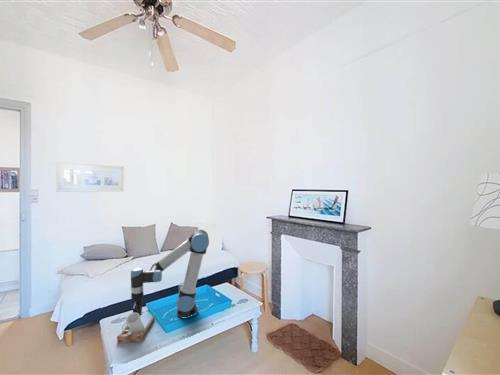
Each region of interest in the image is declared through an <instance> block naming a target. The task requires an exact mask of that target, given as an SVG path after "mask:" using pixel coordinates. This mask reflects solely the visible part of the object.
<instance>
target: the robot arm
mask: <svg viewBox="0 0 500 375" xmlns="http://www.w3.org/2000/svg"><path fill="white" fill-rule="evenodd" d="M209 245H210V239H209V235H208V232H207V231H205V230H203V229H197V230H195V231H194V232H193V233H192V234H190V236H188V237H187V239H186V240H185V241H184V242H183V243H181V244H179V246H177V247H176V248H174V249H173V250H172V251H170V252H169V253H168V254H166V255H165V256H164V257H162V258H161V259H160V260H158V261H157V262H155V263H153V264H152V265H151V266H150V269H149V270H144V269H143V268H142V267H135V268H132V269H131V271H130V292H131V293H130V295H131V296H130V298H131V299H132V300H133V305H132V306H131V309H132V313H134V312H137V313H139V315H140V316H142V314H143V313H142V312H143V300H144V284H146V283H147V284H148V283H149V284H150V283H160V282H161V281H162V279H163V271H165V270H166V269H168V268H169V267H170V266H171V265H173V264H174V263H176V261H178V260H179V259H181V258H182V257H183V256H185V255H186V254H187V253H189V252H190V255H189V260H188V263H187V268H186V272H185V276H184V280H183V282H180V283H179V285H178V295H177V300H176V308H177V311H176V316H177V317H178V316H179V317H188V316H191V315H194V314H195V313H197V312H199V310H198V306H197V302H196V295H197V292H198V290H197V288H196V286H197V282H198V278H199V275H200V269H201V266H202V261H203V257H204V256H205V254H207V249H208V247H209ZM197 314H198V313H197ZM179 317H178V318H179Z"/></svg>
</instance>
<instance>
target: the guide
mask: <svg viewBox="0 0 500 375" xmlns="http://www.w3.org/2000/svg"><path fill="white" fill-rule="evenodd" d="M155 320H156V316H151V318H150V320H149V321H148V323H147V324H146V326H145V327H144V331H143V332H142V333H141V334H131V333H128V332H129V331H123V330H122V331H121V333H119V334H117V336H116V338H117V340H116V342H117V344H120V343H121V344H122V343H124V344H126V343H143V341H144V339H145V338H146V336H147V334H148V333H149V330H150V329H151V328H152V326H153V324H154V323H155ZM123 329H124V330H129V327H128V325H127V324H126V326H125V327H124V328H123ZM127 333H128V334H127Z"/></svg>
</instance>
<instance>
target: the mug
mask: <svg viewBox="0 0 500 375" xmlns="http://www.w3.org/2000/svg"><path fill="white" fill-rule="evenodd" d="M125 325H126V326H127V325H128V327H129V330H124V329H125V328H124V326H125ZM121 329H122V331H128V332H130V334H142V332H143V331H144V329H145V325H144V322H143V321H142V317H141V315H139V313H137V312H134V313H133V312H131V313H130V314H129V315H127V317H126V319H125V322H124V323H123V324H122V326H121Z"/></svg>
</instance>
